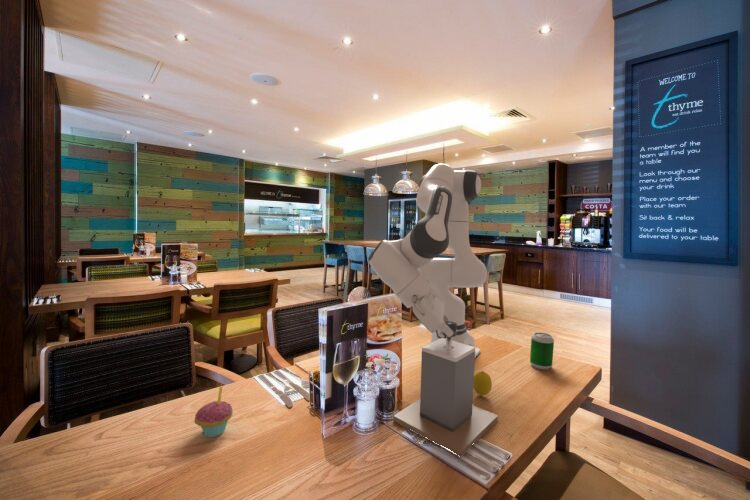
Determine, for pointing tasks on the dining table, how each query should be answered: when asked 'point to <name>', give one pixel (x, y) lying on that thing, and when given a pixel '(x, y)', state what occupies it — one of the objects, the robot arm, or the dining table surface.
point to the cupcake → (214, 416)
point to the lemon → (482, 383)
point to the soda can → (541, 351)
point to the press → (447, 399)
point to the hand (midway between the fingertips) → (451, 331)
